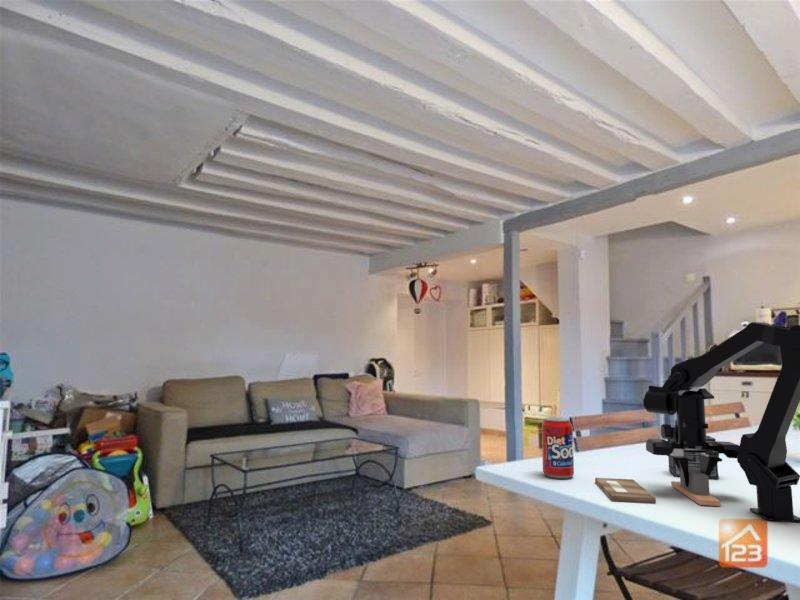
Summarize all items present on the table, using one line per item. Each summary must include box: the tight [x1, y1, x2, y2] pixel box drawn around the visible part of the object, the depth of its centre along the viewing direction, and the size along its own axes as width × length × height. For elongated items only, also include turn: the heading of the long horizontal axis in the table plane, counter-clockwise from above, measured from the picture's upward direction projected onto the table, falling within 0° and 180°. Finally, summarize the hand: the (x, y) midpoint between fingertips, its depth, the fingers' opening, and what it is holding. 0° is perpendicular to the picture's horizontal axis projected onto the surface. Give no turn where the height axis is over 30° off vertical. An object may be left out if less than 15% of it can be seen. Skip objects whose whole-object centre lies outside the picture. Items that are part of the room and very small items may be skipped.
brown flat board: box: [594, 477, 657, 504], centre depth 116 cm, size 16×9×1 cm, turn 171°
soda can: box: [541, 416, 575, 480], centre depth 131 cm, size 8×8×15 cm
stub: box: [670, 468, 722, 507], centre depth 114 cm, size 16×4×5 cm, turn 171°
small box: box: [666, 435, 720, 480], centre depth 133 cm, size 11×6×10 cm, turn 74°
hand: (694, 486), depth 114 cm, fingers closed on stub, 3 cm apart
